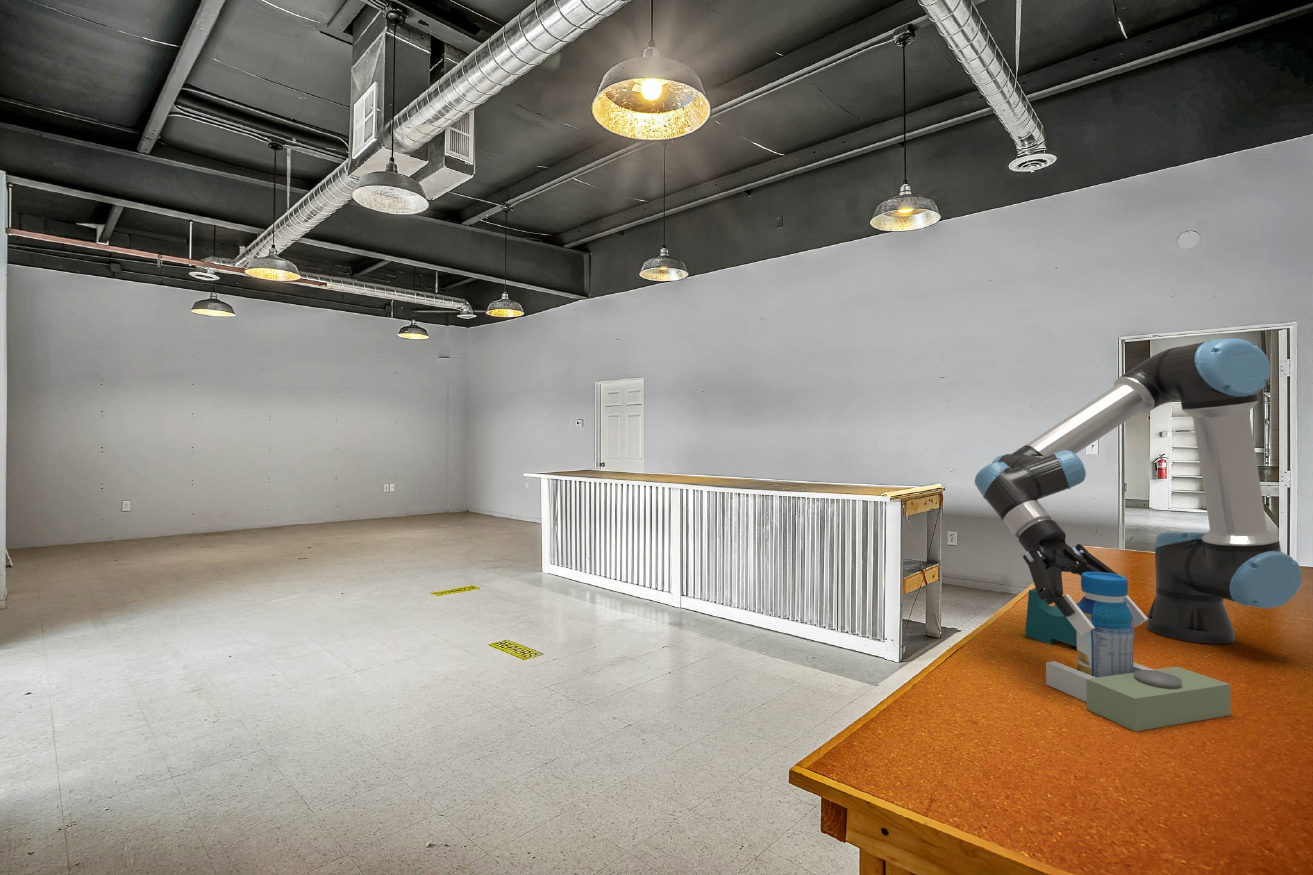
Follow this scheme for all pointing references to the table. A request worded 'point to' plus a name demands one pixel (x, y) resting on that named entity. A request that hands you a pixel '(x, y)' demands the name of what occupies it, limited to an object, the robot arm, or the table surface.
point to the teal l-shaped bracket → (1048, 622)
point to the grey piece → (1145, 695)
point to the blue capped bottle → (1105, 626)
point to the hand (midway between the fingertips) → (1115, 627)
